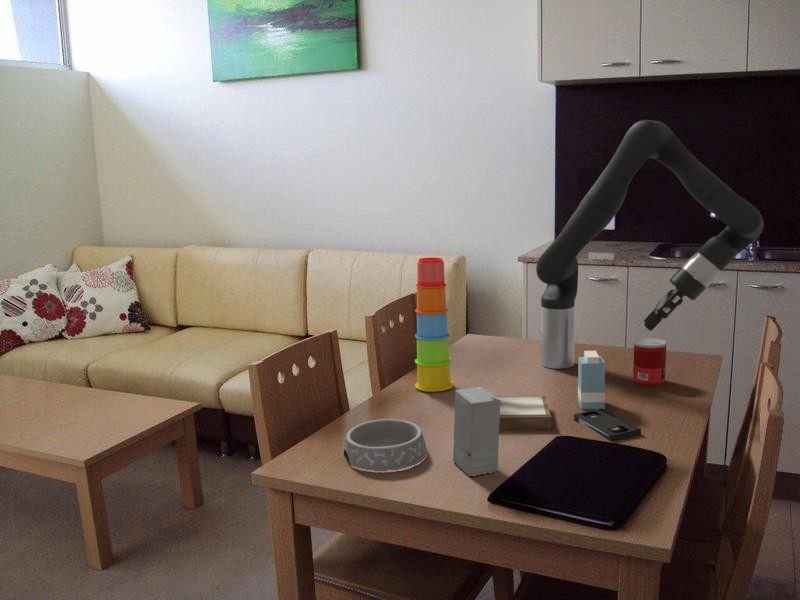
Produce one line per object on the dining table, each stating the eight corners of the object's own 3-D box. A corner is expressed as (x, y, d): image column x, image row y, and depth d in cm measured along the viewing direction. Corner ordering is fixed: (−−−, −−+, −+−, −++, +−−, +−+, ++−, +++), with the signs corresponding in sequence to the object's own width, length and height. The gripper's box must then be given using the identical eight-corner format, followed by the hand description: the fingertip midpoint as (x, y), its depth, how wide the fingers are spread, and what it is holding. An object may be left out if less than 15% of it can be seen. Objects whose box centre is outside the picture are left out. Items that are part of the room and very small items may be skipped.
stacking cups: (407, 387, 205) (401, 260, 197) (434, 378, 211) (430, 254, 204) (433, 396, 197) (429, 264, 190) (461, 386, 204) (457, 258, 196)
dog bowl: (355, 480, 152) (354, 455, 151) (337, 445, 169) (335, 423, 168) (437, 466, 157) (436, 442, 155) (410, 434, 174) (409, 412, 173)
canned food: (669, 386, 197) (670, 345, 194) (637, 387, 197) (638, 346, 195) (659, 376, 204) (661, 337, 202) (629, 377, 205) (630, 338, 202)
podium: (487, 408, 187) (487, 395, 186) (545, 407, 186) (545, 394, 185) (488, 430, 173) (488, 416, 173) (551, 429, 172) (551, 416, 171)
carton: (577, 401, 189) (578, 350, 186) (600, 401, 188) (601, 350, 186) (580, 409, 184) (581, 357, 181) (604, 409, 183) (605, 357, 180)
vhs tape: (573, 422, 177) (573, 414, 177) (601, 416, 180) (601, 408, 180) (610, 444, 164) (610, 435, 164) (640, 437, 167) (641, 428, 167)
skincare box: (452, 462, 157) (450, 389, 154) (483, 456, 160) (481, 384, 156) (470, 479, 150) (468, 402, 146) (502, 472, 152) (501, 396, 149)
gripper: (680, 264, 188) (634, 313, 192) (684, 266, 175) (634, 318, 179) (704, 284, 187) (657, 333, 191) (710, 288, 173) (659, 340, 177)
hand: (646, 326), depth 185 cm, fingers open, 8 cm apart
